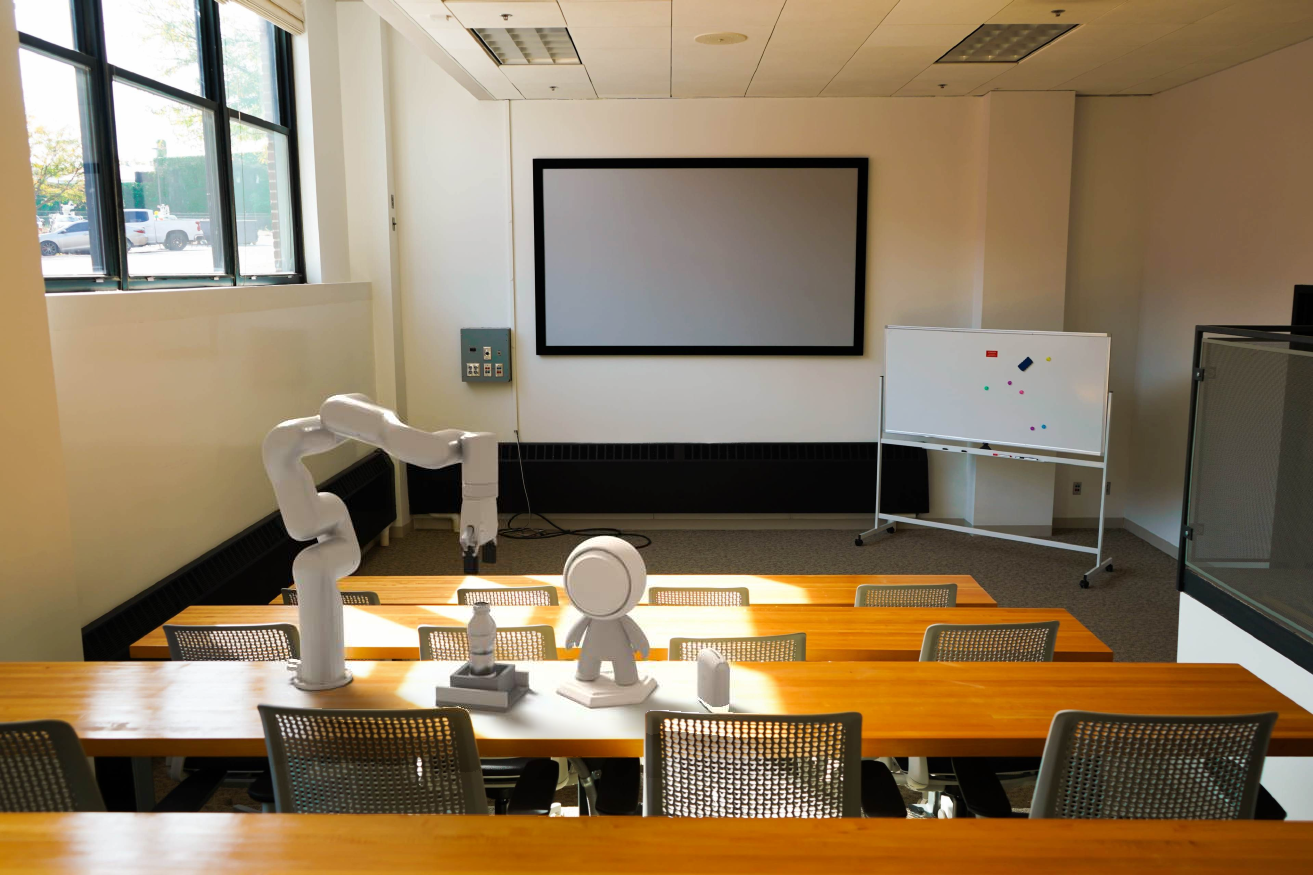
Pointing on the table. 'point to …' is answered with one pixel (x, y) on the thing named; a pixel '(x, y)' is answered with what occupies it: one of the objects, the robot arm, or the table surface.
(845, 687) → the table surface
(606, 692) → the white cartoon figure
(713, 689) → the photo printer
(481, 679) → the gray open square box
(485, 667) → the plastic bottle
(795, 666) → the table surface
